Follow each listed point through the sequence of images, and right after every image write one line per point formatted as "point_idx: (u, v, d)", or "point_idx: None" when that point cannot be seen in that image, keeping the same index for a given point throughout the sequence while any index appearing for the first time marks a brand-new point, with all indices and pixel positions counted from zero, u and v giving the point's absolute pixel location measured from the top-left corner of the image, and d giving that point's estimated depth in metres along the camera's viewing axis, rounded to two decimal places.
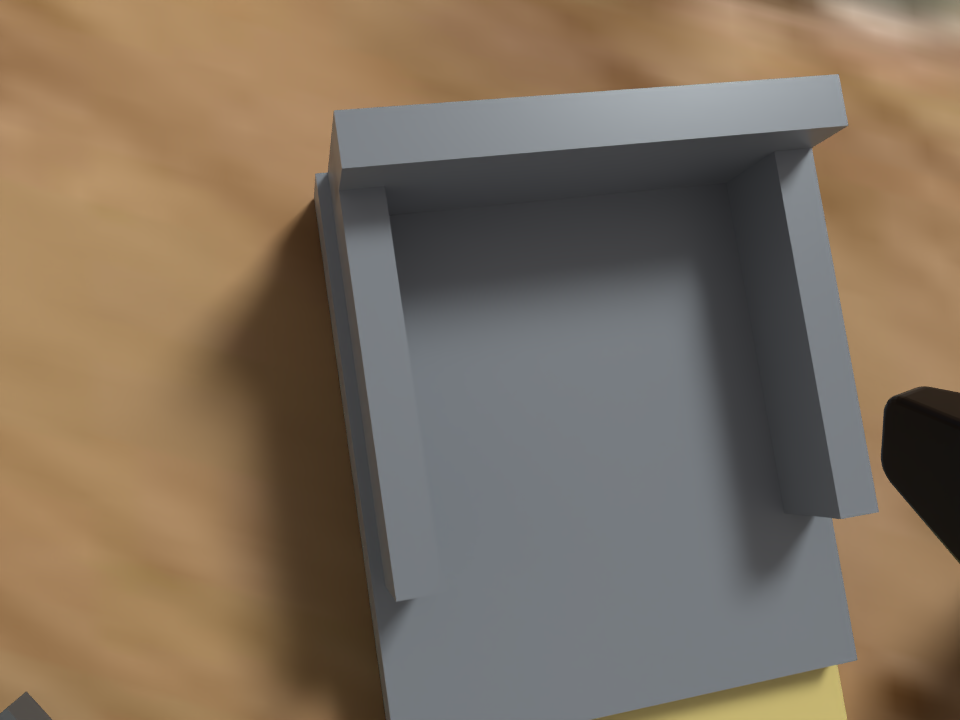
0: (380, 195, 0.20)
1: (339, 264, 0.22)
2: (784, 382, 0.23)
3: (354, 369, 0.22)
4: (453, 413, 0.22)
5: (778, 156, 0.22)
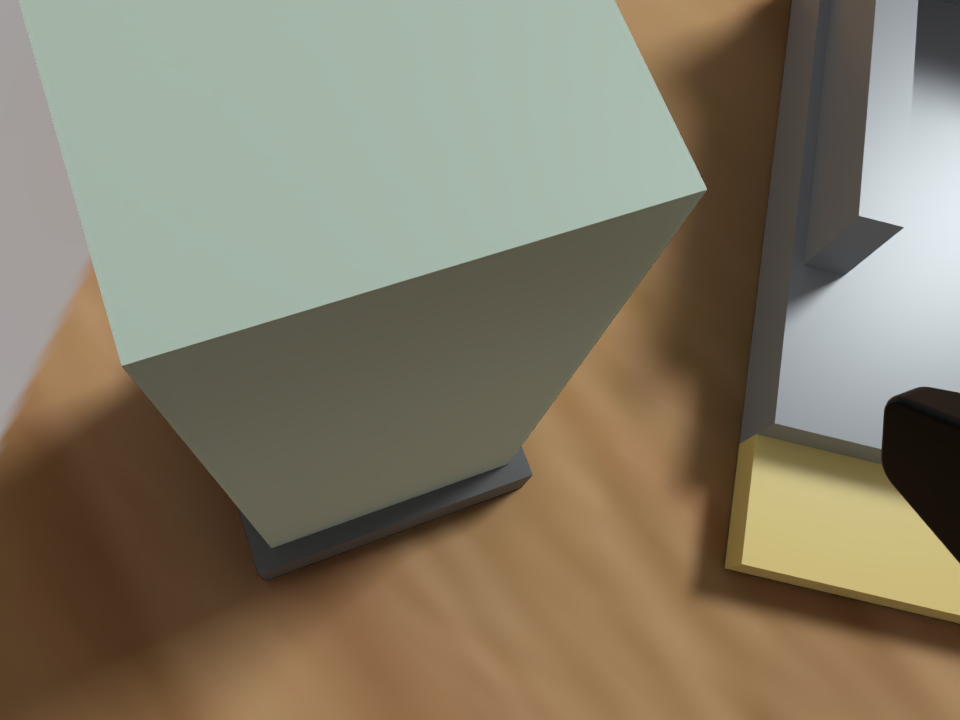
0: None
1: (830, 3, 0.24)
2: None
3: (822, 83, 0.23)
4: None
5: None
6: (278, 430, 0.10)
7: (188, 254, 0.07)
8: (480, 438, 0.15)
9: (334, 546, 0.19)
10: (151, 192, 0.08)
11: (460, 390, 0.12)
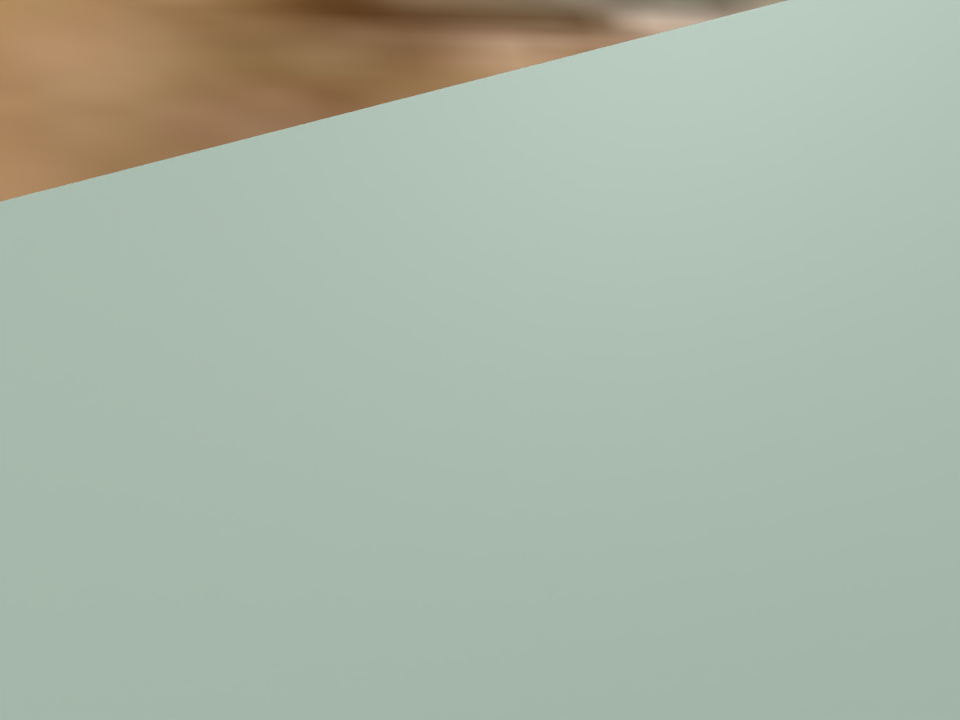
0: None
1: None
2: None
3: None
4: None
5: None
6: None
7: None
8: None
9: None
10: None
11: None
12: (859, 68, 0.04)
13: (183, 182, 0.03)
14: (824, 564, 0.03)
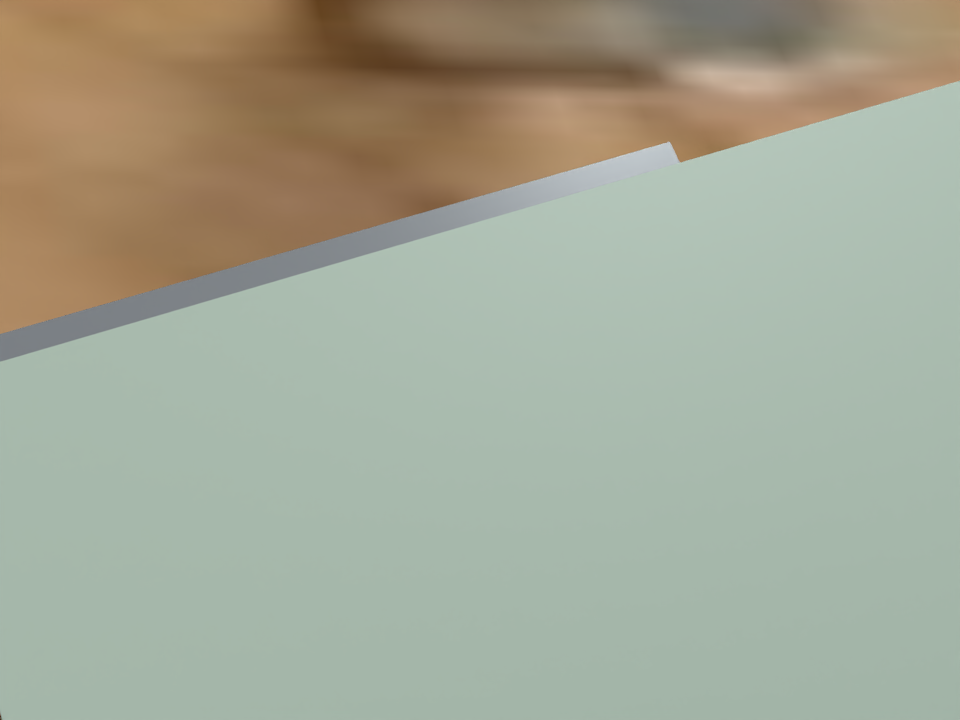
0: None
1: None
2: None
3: None
4: None
5: None
6: None
7: None
8: None
9: None
10: None
11: None
12: (869, 195, 0.04)
13: (230, 323, 0.03)
14: (831, 693, 0.03)
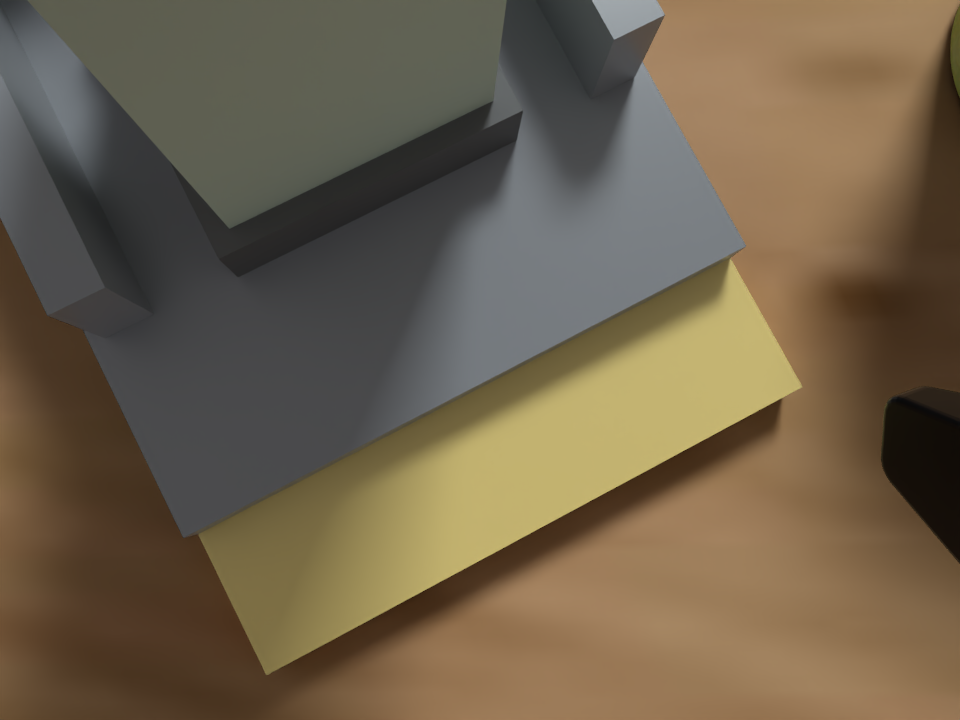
0: None
1: None
2: None
3: None
4: (127, 115, 0.18)
5: None
6: None
7: None
8: (432, 19, 0.12)
9: (301, 218, 0.16)
10: None
11: None
12: None
13: None
14: None
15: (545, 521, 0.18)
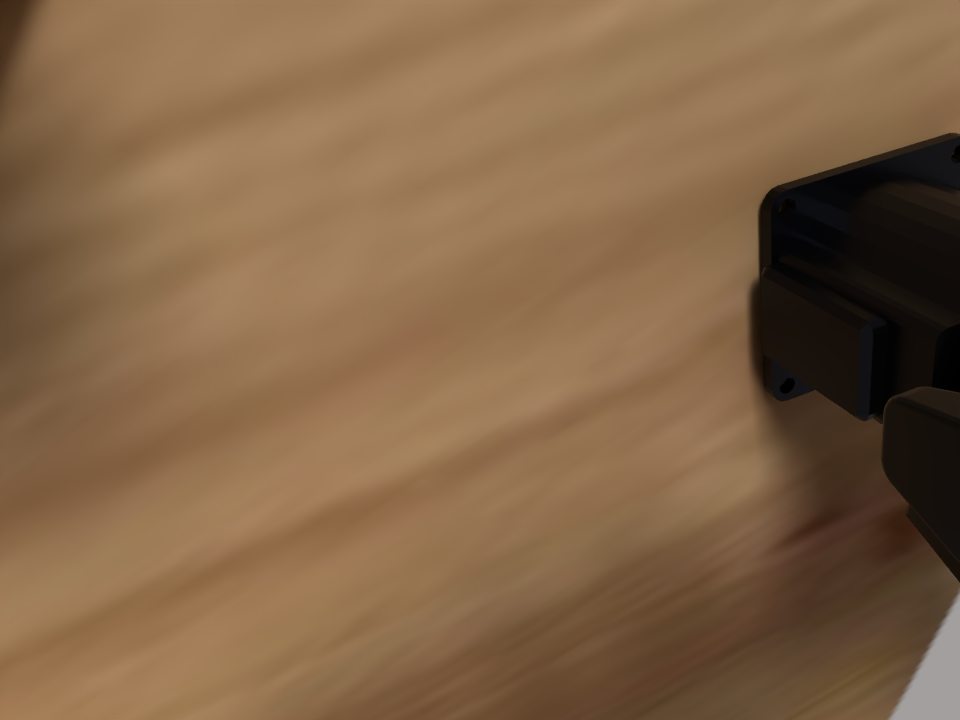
0: None
1: None
2: None
3: None
4: None
5: None
6: None
7: None
8: None
9: None
10: None
11: None
12: None
13: None
14: None
15: None
